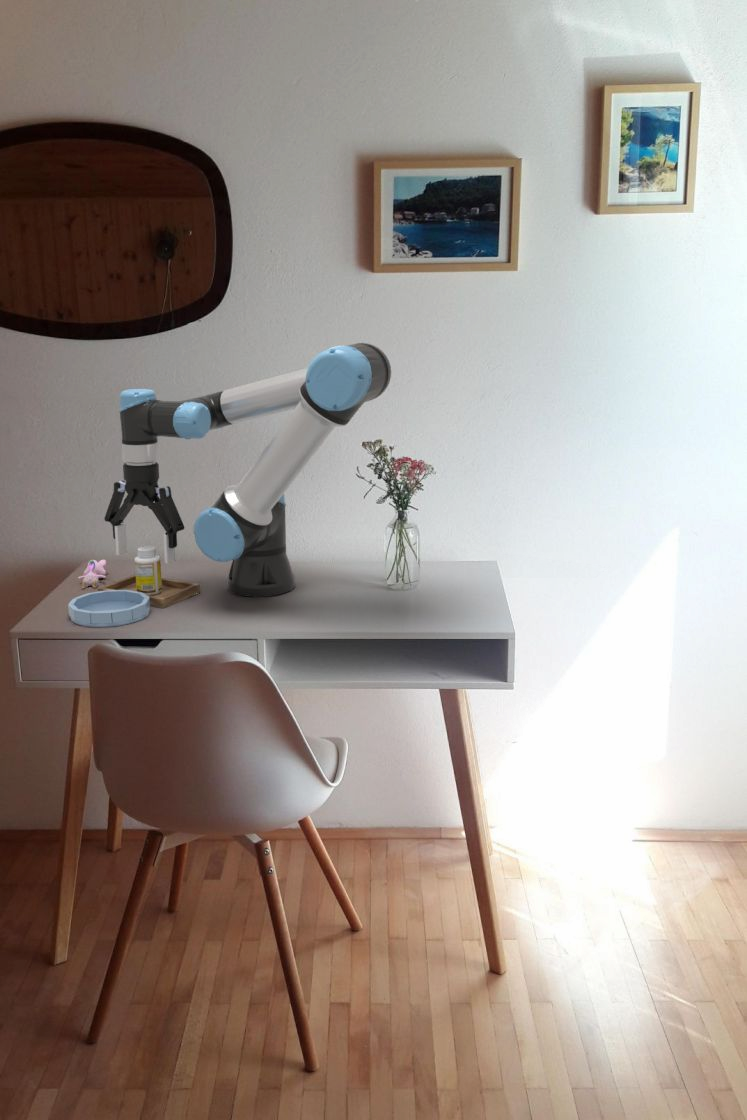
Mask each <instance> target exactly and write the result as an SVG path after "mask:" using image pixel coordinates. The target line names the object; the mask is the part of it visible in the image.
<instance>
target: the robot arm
mask: <svg viewBox="0 0 747 1120" xmlns="http://www.w3.org/2000/svg"><path fill="white" fill-rule="evenodd" d="M391 378H392V365H391V363H390V360H389V359H388V357H387V355H386V353H384V351H383V350H382V349H380V348H379V347H377V346H375V345H374V344H370V343H367V342H366V343H365V342H358V343H354V344H353V343H352V344H348V345H335V346H332V347H329V348H328V349H325V350H323V351H321V352H320V353H319V354H317V355H316V356H314V358H313V359H312V360H311V362H310V364H309V365H308V366H307V367H306V368H302V369H299V370H295V371H291V372H287V373H285V374H281V375H277V376H276V375H275V376H274V377H273V376H272V377H270V378H266V379H262V380H258V381H254V382H251V383H248V384H247V383H246V384H244V385H239V386H237V387H231V388H228V389H225V390H222V391H218V392H213V393H210V394H206V395H202V396H198V397H193V398H188V399H184V400H177V401H176V400H175V401H174V400H158V399H157V397H156V392H155V390H153V389H148V388H133V389H125V390H123V391H121V392H120V393H119V410H118V412H119V419H120V430H121V456H122V461H123V462H124V463H123V465H122V472H123V475H122V476H123V480H120V481H116V482H113V493H112V496H111V498H110V501H109V504H108V507H107V510H106V512H105V516H104V518H103V519H104V521H105V522H106V523H107V522H108V523H110V525H111V526H112V538H113V539H114V540H115V556H120V555H124V554H127V553H128V549H127V548H128V546H127V527H126V524H125V521H124V520H126V518H127V516H128V514H129V513H130V512H131V510H132V509H133V507H134V506H138V505H139V506H143V507H147V508H148V509H149V510H151V511H152V513H153V514H154V516H155V517H156V519H157V520H158V521H159V523H160V524H161V527H162V528H163V529H164V531H165V533H163V550H164V551H163V552H164V553H163V555H164V564H170V563H173V562H175V561H176V548H177V546H178V536H177V535H178V532H180V531H183V530H185V525H184V522H183V520H182V517H181V515H180V513H179V511H178V508H177V506H176V504H175V503H176V502H175V501H174V499H173V497H172V490H171V487H170V486H168V485H167V486H163V487H159V484H158V482H159V479H160V466H159V463H158V462H157V461H159V449H158V447H159V446H158V445H159V444H158V437H166V438H167V437H168V438H177V439H178V438H179V439H185V440H193V439H194V440H196V439H197V440H198V439H199V440H200V439H203V438H205V437H206V436H207V433H209V431H212V430H216V429H221V428H224V427H227V426H232V425H234V424H238V423H242V422H247V421H251V420H255V419H258V418H262V417H268V416H271V415H275V414H279V413H283V412H287V411H290V410H292V412H290V414H289V415H288V416H287V418H286V419H285V421H284V422H283V423H282V425H281V426H280V427H279V429H278V430H277V432H276V433H275V434H274V436H273V437H272V438H271V439H270V440H269V442H268V444H267V445H266V446H265V448H263V450H262V451H261V452H260V454H259V456H258V457H257V458H256V459H255V461H254V462H253V464H252V465H251V467H250V468H249V469H248V471H247V472H246V473H245V475H244V476H243V477H242V479H241V480H240V481H239V483H237V484H235V485H228V486H227V487H226V488H225V489H224V490H223V492H222V493H221V494H220V496H219V497H218V498H217V500H216V501H215V502H214V503H213V505H212V506H211V507H207V508H206V509H204V510H203V511H202V512H201V513H200V514H199V515H198V516H197V517H196V519H195V521H194V523H193V535H194V538H195V539H194V541H195V543H196V545H197V547H198V549H199V550H200V552H202V553H203V554H204V555H205V557H207V558H209V559H210V560H212V561H215V562H219V563H226V562H231V561H232V563H231V566H230V570H229V573H228V576H227V590H228V591H229V592H230V593H232V594H235V595H239V596H243V597H256V598H259V597H273V596H278V594H279V595H282V594H281V593H283V594H286V593H288V592H287V591H289V590H291V589H292V590H294V589H295V587H296V582H295V581H296V579H295V574H294V572H293V569H292V566H291V563H290V560H289V558H288V555H287V554H288V553H287V539H286V538H287V535H286V533H287V532H286V530H287V529H286V506H287V505H286V501H285V492H286V491H287V490H288V488H289V487H290V486H291V485H292V484H293V482H294V481H295V479H296V478H297V477H298V476H299V474H300V473H301V472H302V470H303V469H304V468H305V467H306V465H307V464H308V462H309V461H311V459H312V457H313V456H314V455H315V454H316V452H317V451H318V450H319V449H320V447H321V446H322V445H323V443H325V441H326V439H327V438H328V437H329V435H330V434H331V433H332V432H333V430H334V429H335V428H336V427H344V426H345V427H346V426H347V424H349V422H350V421H351V420H352V418H353V417H354V416H355V415H356V413H357V412H358V411H359V410H360V409H361V407H362V406H363V405H364V404H365V403H367V402H370V401H372V400H375V399H377V398H379V397H380V396H381V395H382V394H383V393H384V392H385V391H386V390H387V388H388V387H389V384H390V381H391ZM126 493H127V495H126V497H125V494H126ZM124 497H125V498H124ZM123 499H124V500H123ZM294 586H295V587H294ZM293 588H294V589H293ZM292 590H291V591H292ZM285 592H286V593H285ZM289 592H290V591H289Z"/></svg>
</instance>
